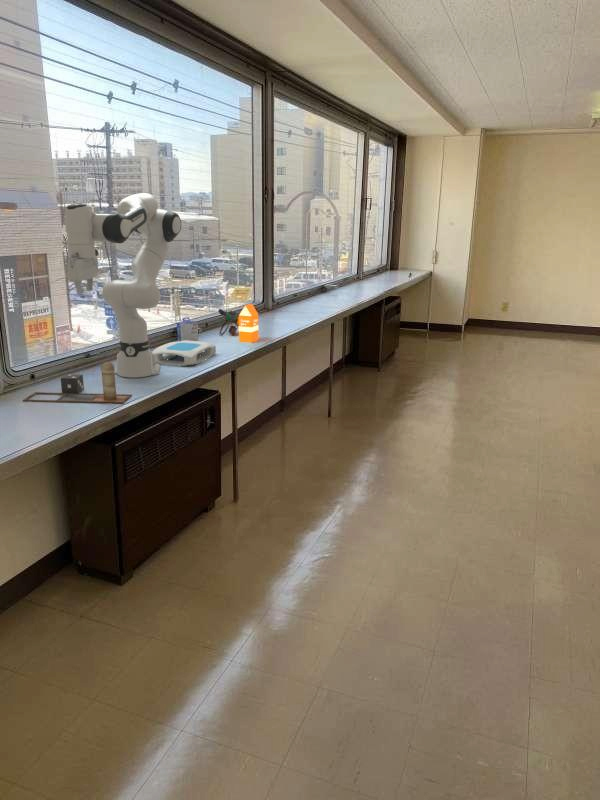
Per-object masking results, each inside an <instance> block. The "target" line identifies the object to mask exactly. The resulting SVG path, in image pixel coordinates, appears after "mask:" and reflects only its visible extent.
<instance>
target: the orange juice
mask: <svg viewBox="0 0 600 800" xmlns="http://www.w3.org/2000/svg"><path fill="white" fill-rule="evenodd" d="M238 318H239V326H238V342H239V341H240V342H239V343H243V342H250V343H249V344H253V343H252V342H254V341H256V340H258V341H259V313H258V311H257V310H256V308H255V306H254V305H253V303H249V304H246V305H244V307H243V308H242V310H241V311H240V313H239V315H238ZM256 342H257V341H256ZM254 343H255V342H254Z"/></svg>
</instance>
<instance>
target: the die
mask: <svg viewBox="0 0 600 800" xmlns="http://www.w3.org/2000/svg"><path fill="white" fill-rule="evenodd" d="M83 376H84V375H83V374H79V373H78V374H74V373H73V374H70V373H69V374H68V373H66V374H65V375H63V376H62V377H60V385H61V393H81V392H82V390H83V391H84V390H85V386H84V377H83Z"/></svg>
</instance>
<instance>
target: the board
mask: <svg viewBox="0 0 600 800" xmlns="http://www.w3.org/2000/svg"><path fill="white" fill-rule="evenodd" d="M35 394H36V395H52V394H53V395H54V394H55V396H56V395H57V396H59V395H60V397H59V398H57V399H31V398H33V397H35V396H36V395H35ZM32 396H33V397H32ZM132 396H133V395H132V394H124V393H123V394H120V393H119V394H118V393H116V397H117V398H116V399H115V400H104V394H103V393H86V392H85V393H84V392H83V393H81V392H80V393H62V392H43V391H42V392H41V391H39V392H38V391H35V392H33V393H32V394H29V396H27V397H25V398H23V399H22V402H28V401H33V402H36V403H38V402H39V403H40V402H41V403H69V404H70V403H73V404H76V403H77V404H106V403H112V405H124V404H125V403H126V402H127V401H128V400H129V399H130V398H131V397H132ZM29 398H30V399H29ZM33 402H32V403H33Z"/></svg>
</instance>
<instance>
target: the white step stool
mask: <svg viewBox="0 0 600 800" xmlns="http://www.w3.org/2000/svg"><path fill="white" fill-rule="evenodd" d="M216 350H217V347H216V345H215V344H213V343H211V342H207V341H199V340H198V341H187V340H185V341H178V340H177V341H173V342H168V343H165V344H163V345H160V346H157V347H156V348H155V349H154V350H152V351H151V352H152V353H153V354H154V361H155V364H159V365H160V364H168V365H167V366H171V365H180V366H179V367H187V365H188V366H193V365H194V364H195V365H199V364H201V363H203V362H205V361H206V360H205V359H207V358H209V357H211V356H214V354H215V353H216ZM176 355H177V356H179V357H183V361H181V360H173V359H172V358H171V357H173V358H174V356H175V357H177V356H176ZM197 355H201V356H197ZM169 358H170V359H169ZM211 358H212V357H211ZM167 359H169V360H167ZM209 359H210V358H209ZM204 360H205V361H204ZM207 360H208V359H207ZM202 361H203V362H202ZM200 362H201V363H200ZM198 363H199V364H198Z"/></svg>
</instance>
